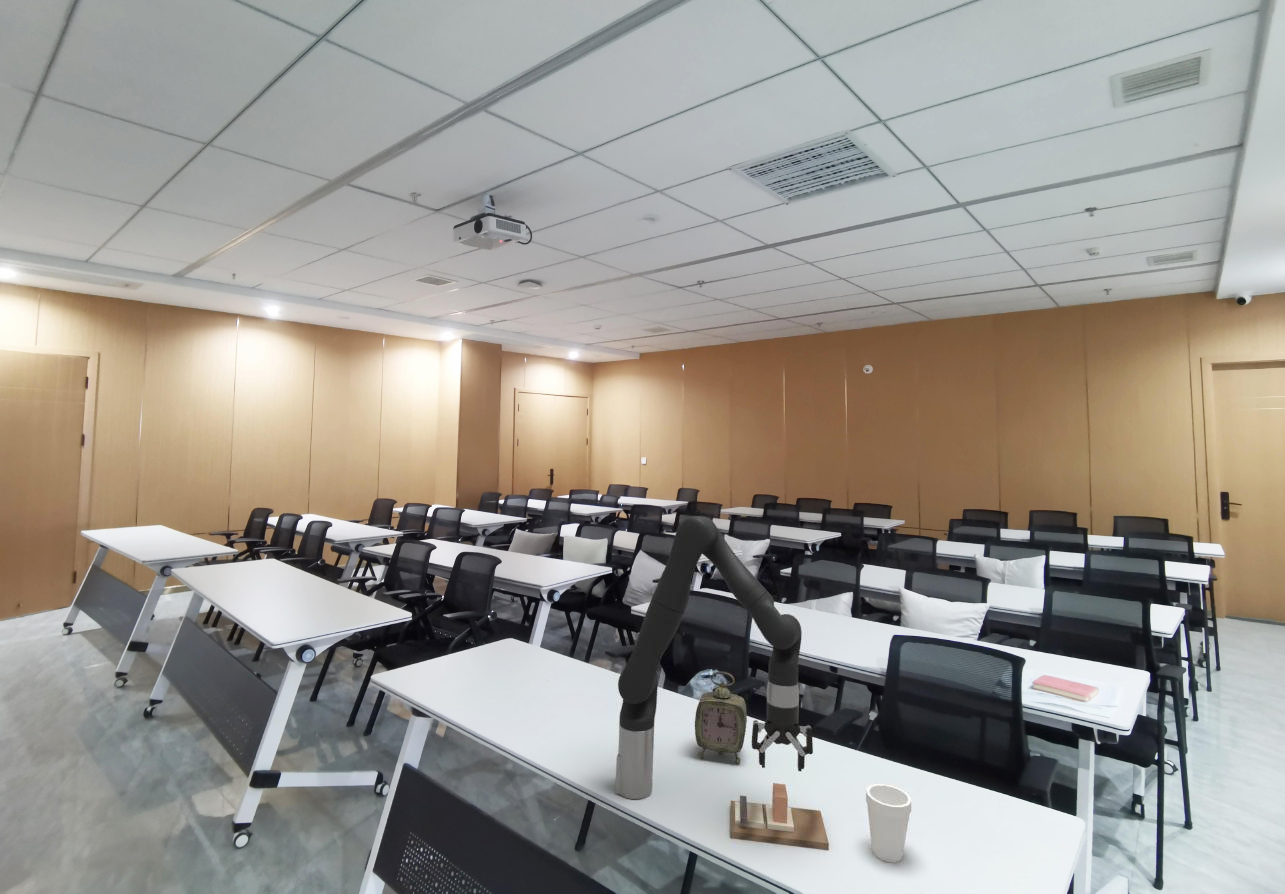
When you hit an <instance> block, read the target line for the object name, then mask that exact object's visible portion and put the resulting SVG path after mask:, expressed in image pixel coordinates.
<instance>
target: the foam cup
mask: <svg viewBox="0 0 1285 894" xmlns="http://www.w3.org/2000/svg"><path fill="white" fill-rule="evenodd" d="M865 791H866V792H865V801H866V804H867V805H866V807H867V814H868V823H869V825H868V826H869V834H870V843H871V844H870V846H871V850H872V854H874V856H876V858H878V859H879V860H881V861H884V862H887V863H898V862H900V861H902V858H903V855H904V851H905V849H904V848H905V845H906V844H905V843H906V839H907V832H908V826H909V820H910V814H911V812H912V799H911V796H910V795H909V794H908V793H907V792H906V791H905V790H903V789H902V788H898V787H896V786H893V785H890V784H884V783H875V784H871V785H869V786H868V787H867V788H866V790H865Z"/></svg>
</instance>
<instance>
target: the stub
mask: <svg viewBox="0 0 1285 894" xmlns="http://www.w3.org/2000/svg"><path fill="white" fill-rule="evenodd" d="M787 792H788V791H787V787H786V784H785V783H777V782H776V783H775V782H772V797H771V798H772V802H771V804H766V819H767V829H771V830H780V831H788V832H794V824H793V819H792V813H791V808H790V807H791V806H788V803H789V802H788V800H789V799H788V793H787Z"/></svg>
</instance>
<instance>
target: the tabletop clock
mask: <svg viewBox="0 0 1285 894" xmlns="http://www.w3.org/2000/svg"><path fill="white" fill-rule="evenodd" d="M716 675H725V676H728V677H730V678H731V679H732V682H731V683H726V684H725V681H723V680H721V681H720V683H718V682H717V681H715V680H713V677H714V676H716ZM710 681H711V682H712V683H713V684H714V685H716V686H717V687H716V688H715V689H714V691H706V692H703V693H702V695H701V696H700V699H699V701H698V704H697V707H696V711H695V715H694V716H695V717H694V736H695V741H696V744H697V746H699V747H701V749H702V750H701V751H699V752H698V754H697V755H698V757H699V758H700V759H703V758H704V757H705V754H704V752H705V751H706V750H709V751H713V752H716V753H719V754H720V755H721V754H722V755H723V754H725V753H726V754H734V757H735V760H734V762H735V764H737V765H738V764H741V758H740V757H738V753H740V752H741V751H742V749H743V747H744V742H745V737H746V731H747V723H748V722H747V721H748V716H747V713H748V712H747V704H746V701H745V699H744V697H742V696H740V695H738V694H734V693H731V691H730V689H729V688H728V687H731V686H733V685H734V684H735V678H734V676H733V675H732V674H731V673H729V672H727V671H715V672H714V673H712V675H710Z"/></svg>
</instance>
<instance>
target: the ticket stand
mask: <svg viewBox="0 0 1285 894" xmlns="http://www.w3.org/2000/svg"><path fill="white" fill-rule="evenodd" d="M747 799H748V798H747V795H739V800H730V839H733V840H734V839H736V840H742V841H743V840H744V841H752V842H758V843H760V842H761V843H768V844H775V845H784V846H793V847H794V846H795V847H801V848H810V849H817V850H826V851H829V850H830V849H829V848H830V842H829V839H828V834H827V831H826V827H825V823H824V820H823V816H822V815H823V814H822V812H821V810H820V809H818V810H817V809H809V808H800V807H791V806H789V807H790V808H791V813H792V819H793V824H794V832H788V831H780V830H771V829H767V819H766V805H767V804H765V803H756V802H747V801H748V800H747Z"/></svg>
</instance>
